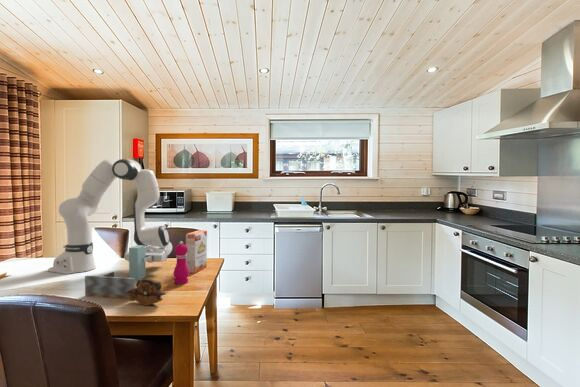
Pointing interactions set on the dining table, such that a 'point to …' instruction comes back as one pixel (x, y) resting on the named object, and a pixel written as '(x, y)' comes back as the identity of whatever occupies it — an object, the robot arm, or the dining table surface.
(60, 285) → the dining table surface
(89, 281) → the grey speckled box
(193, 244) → the cracker box
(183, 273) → the pepper mill
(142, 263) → the grey-green rectangular block
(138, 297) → the wooden carving
